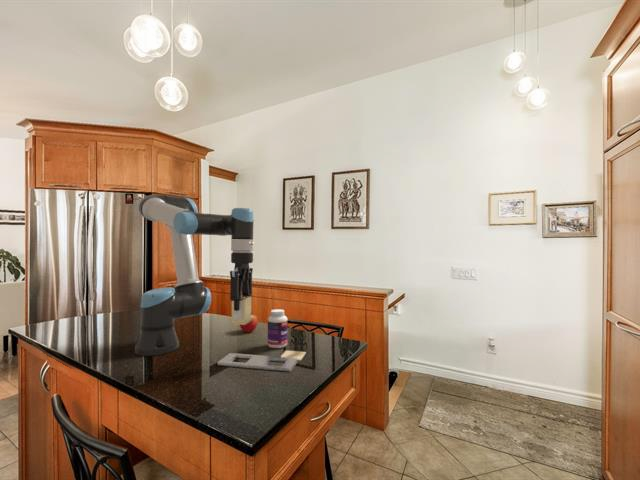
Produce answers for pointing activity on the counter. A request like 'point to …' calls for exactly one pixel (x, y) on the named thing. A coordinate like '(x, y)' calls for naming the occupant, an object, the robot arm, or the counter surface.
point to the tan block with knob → (243, 311)
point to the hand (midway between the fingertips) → (241, 317)
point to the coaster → (294, 354)
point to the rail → (258, 362)
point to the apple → (250, 324)
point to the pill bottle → (277, 329)
